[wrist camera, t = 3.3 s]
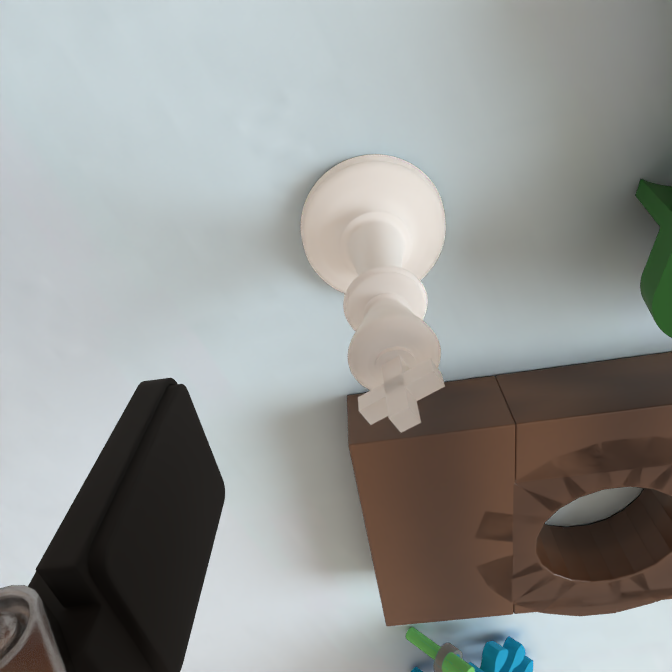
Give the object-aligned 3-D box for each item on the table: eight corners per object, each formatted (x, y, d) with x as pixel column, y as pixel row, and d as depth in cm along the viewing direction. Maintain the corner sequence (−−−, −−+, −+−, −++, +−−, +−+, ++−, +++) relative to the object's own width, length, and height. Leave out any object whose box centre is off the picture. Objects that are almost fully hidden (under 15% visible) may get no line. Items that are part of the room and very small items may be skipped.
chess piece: (271, 210, 18) (214, 393, 9) (396, 121, 16) (462, 244, 8) (352, 315, 20) (365, 541, 12) (470, 244, 19) (584, 445, 10)
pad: (383, 579, 29) (387, 634, 26) (346, 394, 22) (348, 445, 20) (693, 547, 27) (730, 602, 25) (752, 340, 21) (811, 387, 18)
